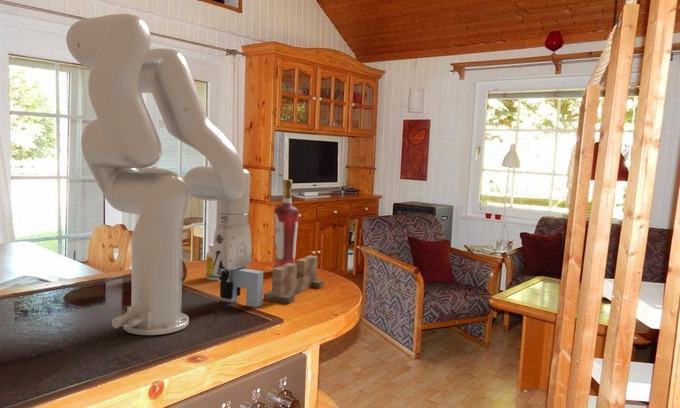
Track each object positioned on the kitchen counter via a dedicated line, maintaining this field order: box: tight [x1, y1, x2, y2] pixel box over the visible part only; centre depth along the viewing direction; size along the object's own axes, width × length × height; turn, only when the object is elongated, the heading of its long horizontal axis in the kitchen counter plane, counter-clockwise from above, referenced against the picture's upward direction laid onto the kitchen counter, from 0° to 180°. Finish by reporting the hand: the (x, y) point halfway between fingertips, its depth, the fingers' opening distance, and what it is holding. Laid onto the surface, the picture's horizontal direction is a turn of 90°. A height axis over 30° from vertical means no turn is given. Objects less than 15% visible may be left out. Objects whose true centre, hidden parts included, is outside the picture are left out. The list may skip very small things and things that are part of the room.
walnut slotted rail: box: [263, 254, 325, 305], centre depth 132 cm, size 20×7×8 cm, turn 157°
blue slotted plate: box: [220, 268, 264, 308], centre depth 120 cm, size 10×2×8 cm, turn 67°
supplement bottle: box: [205, 243, 219, 281], centre depth 143 cm, size 5×5×10 cm
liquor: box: [273, 178, 300, 268], centre depth 154 cm, size 7×7×28 cm
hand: (230, 295), depth 122 cm, fingers closed on blue slotted plate, 2 cm apart
